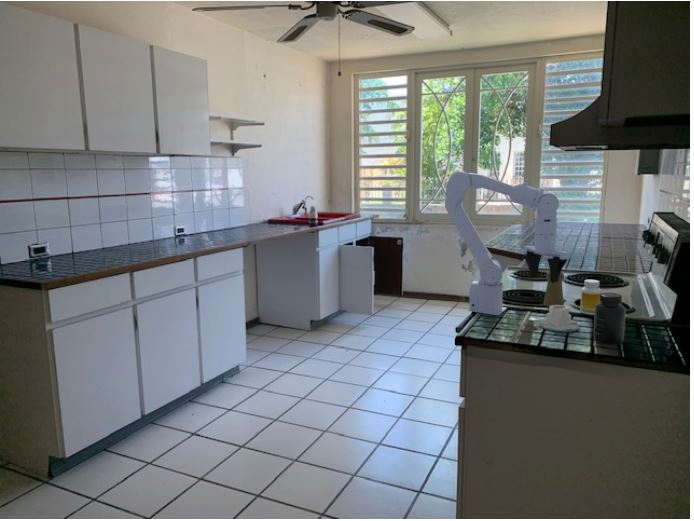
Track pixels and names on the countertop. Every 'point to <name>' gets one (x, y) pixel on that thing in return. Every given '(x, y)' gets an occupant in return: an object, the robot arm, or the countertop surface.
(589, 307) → the supplement bottle
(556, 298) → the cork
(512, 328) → the countertop surface
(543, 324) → the knobbed pot lid
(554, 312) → the white faceted lump
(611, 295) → the supplement bottle
